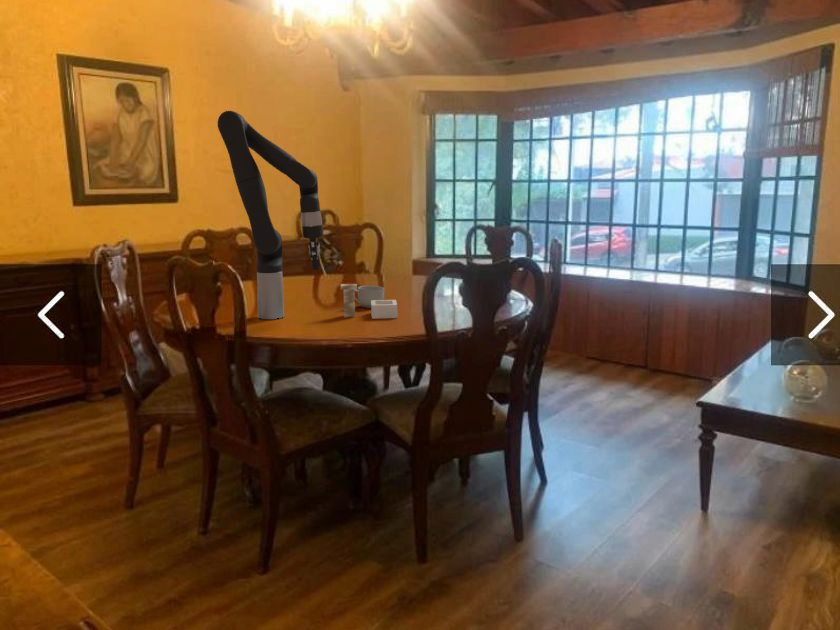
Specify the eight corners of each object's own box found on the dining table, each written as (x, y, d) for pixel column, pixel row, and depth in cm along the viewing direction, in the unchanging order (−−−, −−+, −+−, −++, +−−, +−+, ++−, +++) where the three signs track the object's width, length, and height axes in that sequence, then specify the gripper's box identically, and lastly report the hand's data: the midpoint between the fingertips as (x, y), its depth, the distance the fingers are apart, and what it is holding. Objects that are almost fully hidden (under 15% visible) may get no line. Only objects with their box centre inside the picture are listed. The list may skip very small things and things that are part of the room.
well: (371, 318, 248) (371, 305, 247) (371, 313, 259) (371, 300, 258) (397, 318, 249) (397, 304, 248) (395, 312, 260) (395, 299, 259)
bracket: (341, 317, 250) (340, 285, 248) (341, 315, 254) (340, 284, 252) (357, 317, 251) (356, 285, 249) (357, 315, 255) (356, 283, 253)
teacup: (380, 303, 279) (379, 284, 278) (388, 308, 269) (387, 288, 268) (347, 306, 274) (347, 286, 273) (354, 310, 264) (353, 290, 263)
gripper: (303, 224, 253) (307, 266, 256) (300, 226, 239) (305, 271, 242) (323, 222, 253) (327, 265, 256) (321, 224, 239) (325, 269, 242)
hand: (316, 268), depth 249 cm, fingers open, 8 cm apart
